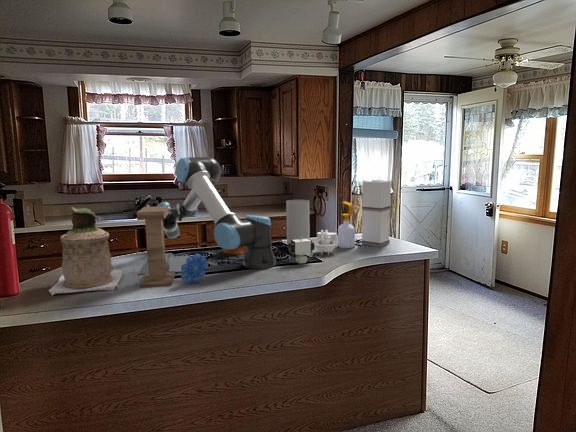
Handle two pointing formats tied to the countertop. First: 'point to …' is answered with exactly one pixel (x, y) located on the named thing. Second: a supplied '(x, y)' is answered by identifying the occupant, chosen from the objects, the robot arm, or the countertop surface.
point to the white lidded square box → (376, 212)
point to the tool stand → (155, 247)
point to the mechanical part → (326, 241)
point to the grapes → (194, 268)
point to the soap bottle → (346, 230)
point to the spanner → (168, 260)
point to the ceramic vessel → (235, 250)
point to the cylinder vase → (297, 220)
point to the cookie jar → (86, 257)
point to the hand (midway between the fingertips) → (162, 206)
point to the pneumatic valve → (301, 249)
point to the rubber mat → (175, 265)
